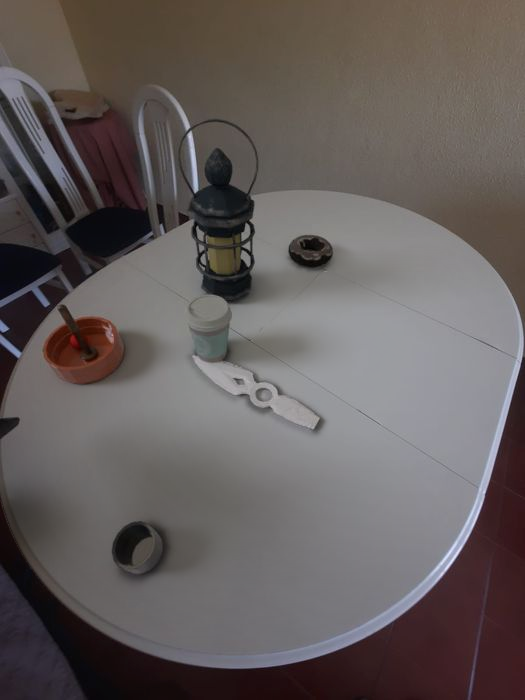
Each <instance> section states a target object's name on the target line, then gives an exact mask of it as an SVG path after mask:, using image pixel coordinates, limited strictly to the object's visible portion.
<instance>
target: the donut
mask: <svg viewBox="0 0 525 700" xmlns="http://www.w3.org/2000/svg"><path fill="white" fill-rule="evenodd" d="M287 251H288V255H289V257H290V260H292V261H293V262H294V263H295V264H297V265H298V266H301V267H304V268H313V269H314V268H315V269H316V268H320V267H322V266H326V265H327V264H328V263H329V262H330V261H331V259H332V258H333V256H334V248H333V246H332V244H331V243H330V241H329V240H328V239H326V238H325V237H322V236H319V235H317V234H303V235H300V236H297V237H295V238H294V239H292V240H291V242H290V243H289V245H288V250H287Z"/></svg>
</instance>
